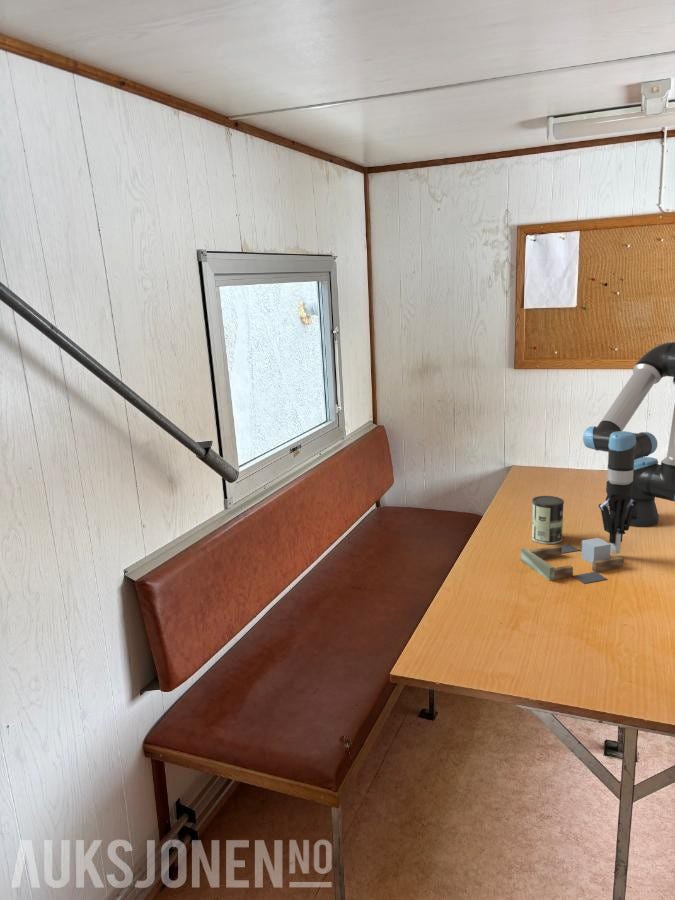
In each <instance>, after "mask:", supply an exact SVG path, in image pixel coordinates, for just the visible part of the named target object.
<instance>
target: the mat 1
mask: <svg viewBox="0 0 675 900" xmlns="http://www.w3.org/2000/svg"><path fill="white" fill-rule="evenodd" d="M560 546H561V547H562V554H567V553H573V552H581V551H580V548H577V547H576V546H574V545H572V544H570V543H568V544H562V545H560Z"/></svg>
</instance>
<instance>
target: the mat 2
mask: <svg viewBox="0 0 675 900" xmlns="http://www.w3.org/2000/svg"><path fill="white" fill-rule="evenodd" d="M572 577H573V578H574V579H575V580H578V582H581V583H582V584H589V583H595V582H601V581H607V580H608V578H607V577H605V576H603V575H602V574H600V573H599V572H594V571H592V572H587V573H581V574H574V575H573V576H572Z"/></svg>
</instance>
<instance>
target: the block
mask: <svg viewBox="0 0 675 900" xmlns="http://www.w3.org/2000/svg"><path fill="white" fill-rule="evenodd" d="M581 542H582V552H581V559H583V560H585V561H586V562H588V563H590V564H591V565H593V561H597V560H603V559H609V558H611V551H610V549H611V543H610V542H608V541H605V540H603V539H601V538H600V537H595V538H589V539H583V540H581Z"/></svg>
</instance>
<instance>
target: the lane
mask: <svg viewBox="0 0 675 900" xmlns="http://www.w3.org/2000/svg"><path fill="white" fill-rule="evenodd" d="M579 544H580V545H579V550H580V551H579V552H580V553H582V541H580V543H579ZM562 554H563V553H562V547H561V545H556V546H555V545H554V546H549V547H547V546H546V547H542V548H535V549H527V548H521V549H520V561H521V563H524V564H525V565H526V566H528V567H529V568H531V569H532V570H533V571H535V572H536V573H538V574H540V575H541V576H542V577H543V578H545V579H546V580H548V581H554V580H559V579H566V578H570V577H571V578H572V577H573V576H574V575H573V574H574V566H572V565H564V566H558V567H555V566H553V565H551V564H550V563H548V562H547V561H545V560H546V559H550V558H556V557H562ZM544 559H545V560H544ZM624 561H625V559H624V557H623V556H616V557H610V558H609V559H603V560H597V561H593V564H592V569H591V570H592V572H597V573H600V572H604V571H605V572H606V571H610V570H616V569H617V570H618V569H622V568H624Z"/></svg>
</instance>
